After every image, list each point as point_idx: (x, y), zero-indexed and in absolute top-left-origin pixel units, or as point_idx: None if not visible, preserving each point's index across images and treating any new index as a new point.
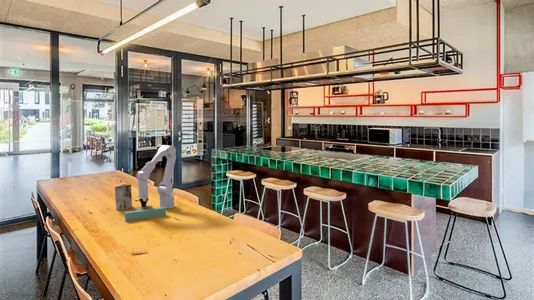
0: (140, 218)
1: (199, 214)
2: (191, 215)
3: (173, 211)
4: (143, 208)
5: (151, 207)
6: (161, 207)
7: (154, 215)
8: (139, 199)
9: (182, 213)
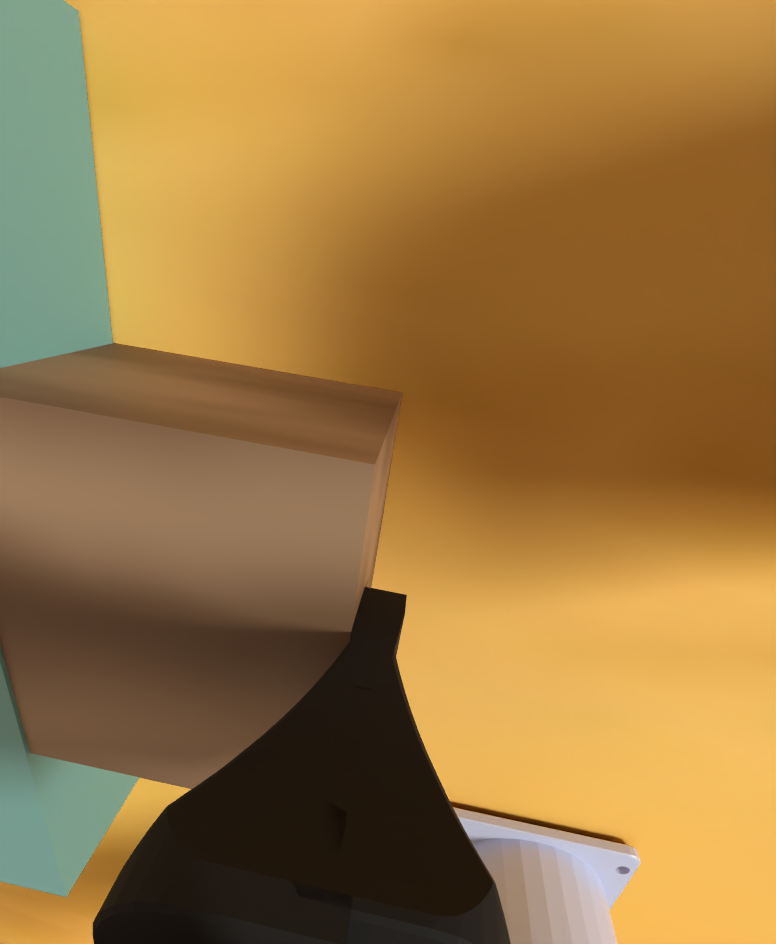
0: None
1: (18, 927)
2: (6, 883)
3: None
4: (114, 607)
5: (135, 757)
6: (48, 858)
7: None
8: (190, 924)
9: (112, 869)
